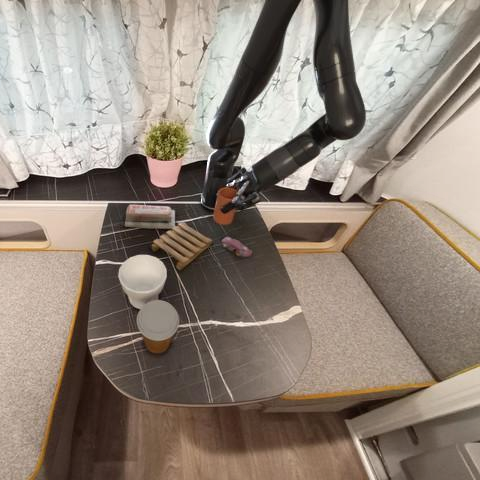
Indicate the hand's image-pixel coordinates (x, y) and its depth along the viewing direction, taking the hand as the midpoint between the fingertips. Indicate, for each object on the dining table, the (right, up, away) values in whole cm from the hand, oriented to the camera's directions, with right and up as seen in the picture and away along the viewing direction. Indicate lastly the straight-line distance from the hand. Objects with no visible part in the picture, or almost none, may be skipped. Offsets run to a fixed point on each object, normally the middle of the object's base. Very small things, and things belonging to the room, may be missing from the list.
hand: (220, 204), depth 77 cm
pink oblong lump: (+8, -14, +13) cm, 21 cm away
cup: (-22, -26, 0) cm, 34 cm away
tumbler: (+2, -4, +4) cm, 6 cm away
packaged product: (-21, -3, +24) cm, 31 cm away
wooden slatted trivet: (-10, -13, +14) cm, 21 cm away
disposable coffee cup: (-18, -36, -9) cm, 41 cm away
